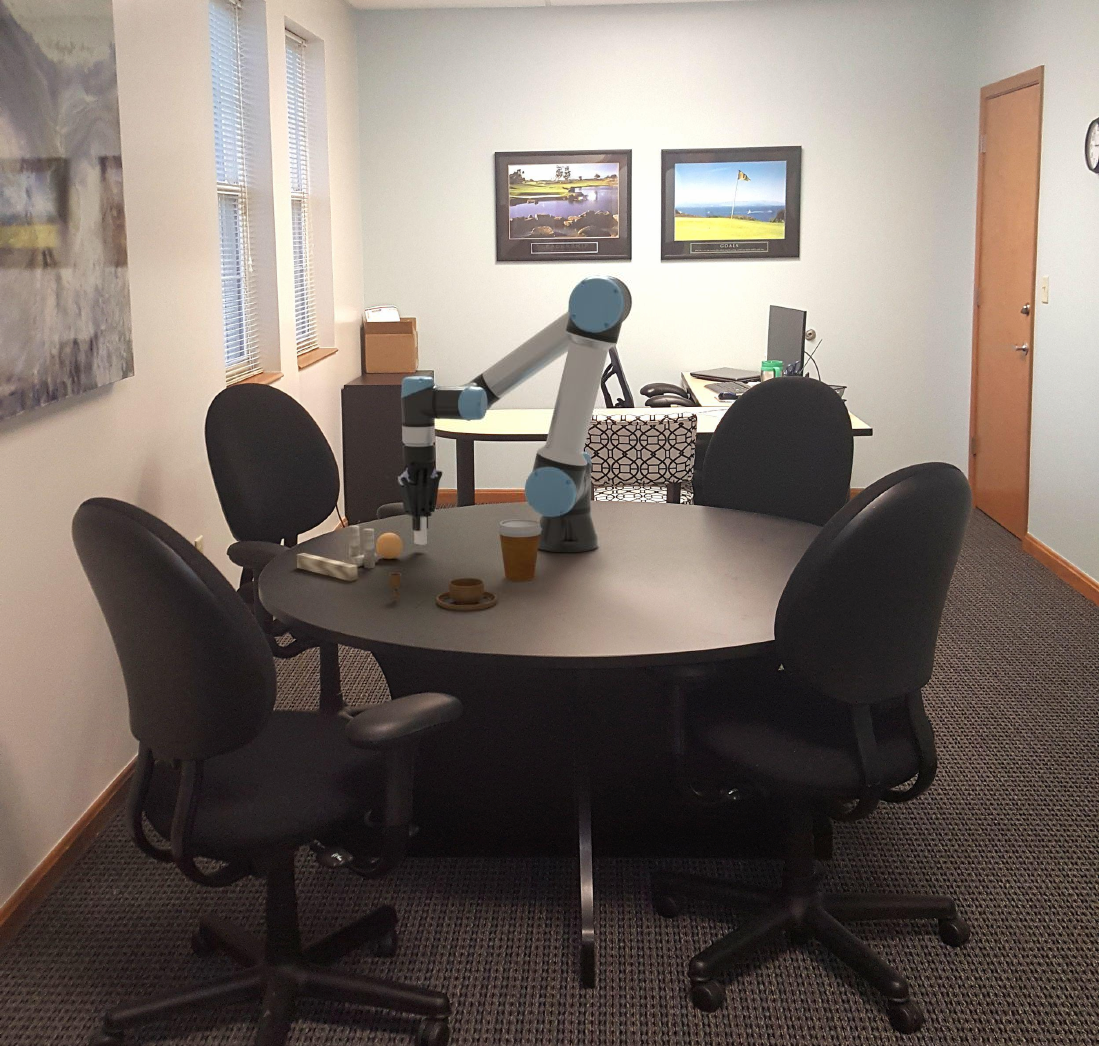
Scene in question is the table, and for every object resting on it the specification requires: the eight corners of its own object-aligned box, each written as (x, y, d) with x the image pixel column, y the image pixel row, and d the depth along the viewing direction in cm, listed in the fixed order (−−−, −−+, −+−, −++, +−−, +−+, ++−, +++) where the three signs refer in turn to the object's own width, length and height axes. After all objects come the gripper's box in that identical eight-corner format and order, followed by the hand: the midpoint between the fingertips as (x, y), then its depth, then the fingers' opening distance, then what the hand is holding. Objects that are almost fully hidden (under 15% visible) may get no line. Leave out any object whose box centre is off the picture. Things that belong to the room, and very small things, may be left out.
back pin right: (362, 563, 267) (361, 526, 266) (354, 565, 266) (353, 528, 264) (355, 561, 269) (354, 524, 267) (347, 563, 267) (346, 526, 265)
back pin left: (377, 566, 264) (376, 529, 263) (369, 568, 263) (367, 531, 261) (370, 565, 266) (369, 528, 264) (361, 567, 264) (360, 529, 262)
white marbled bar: (357, 579, 253) (357, 565, 253) (350, 581, 252) (349, 567, 251) (304, 566, 265) (304, 552, 264) (297, 567, 263) (296, 554, 263)
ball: (385, 552, 266) (398, 566, 271) (398, 530, 268) (411, 544, 273) (366, 547, 270) (380, 560, 274) (379, 525, 272) (392, 539, 276)
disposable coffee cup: (536, 584, 250) (536, 528, 247) (492, 582, 252) (492, 526, 249) (546, 573, 259) (546, 519, 256) (503, 571, 261) (503, 517, 258)
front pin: (378, 553, 267) (348, 560, 261) (378, 563, 268) (348, 570, 261) (371, 551, 269) (341, 557, 262) (371, 561, 269) (341, 568, 263)
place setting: (460, 621, 225) (459, 591, 224) (383, 603, 237) (383, 575, 236) (516, 601, 239) (516, 573, 238) (442, 586, 251) (441, 558, 250)
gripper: (427, 439, 281) (429, 536, 286) (386, 445, 271) (389, 545, 276) (450, 442, 276) (451, 541, 281) (409, 448, 267) (411, 550, 272)
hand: (420, 543), depth 279 cm, fingers closed
